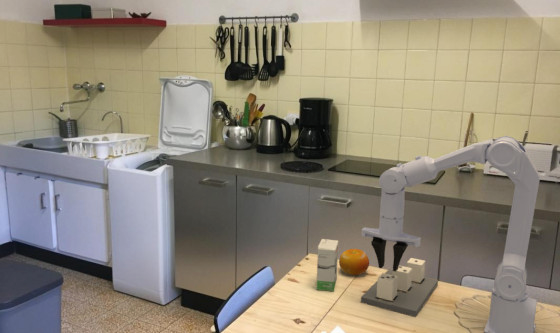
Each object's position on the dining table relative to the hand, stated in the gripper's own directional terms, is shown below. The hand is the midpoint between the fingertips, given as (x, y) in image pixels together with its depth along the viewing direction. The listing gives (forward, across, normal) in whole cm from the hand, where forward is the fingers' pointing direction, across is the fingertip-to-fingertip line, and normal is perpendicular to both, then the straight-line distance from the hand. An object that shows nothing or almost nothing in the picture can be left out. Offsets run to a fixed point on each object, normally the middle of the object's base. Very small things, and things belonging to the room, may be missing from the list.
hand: (388, 268), depth 119 cm
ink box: (+9, +18, -2) cm, 20 cm away
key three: (+7, 0, 0) cm, 7 cm away
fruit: (+10, +14, -14) cm, 22 cm away
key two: (+7, -1, -7) cm, 11 cm away
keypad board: (+9, -2, -8) cm, 12 cm away
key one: (+7, -3, -15) cm, 17 cm away
